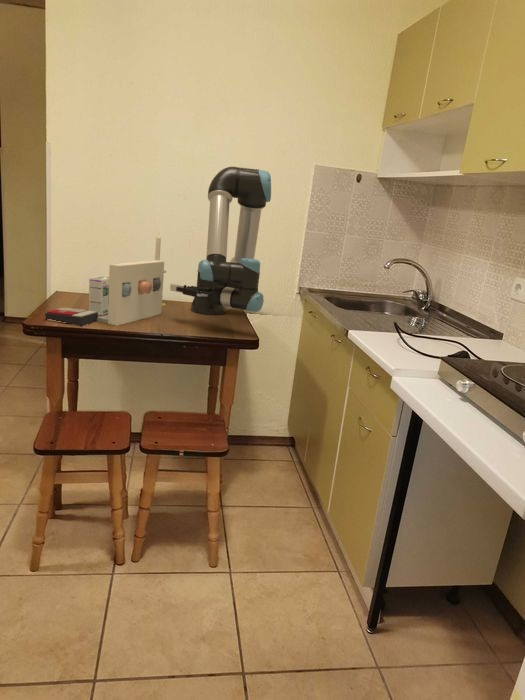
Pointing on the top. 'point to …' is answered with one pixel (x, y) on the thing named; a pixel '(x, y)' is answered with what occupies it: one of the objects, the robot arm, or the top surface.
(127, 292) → the slate blue button
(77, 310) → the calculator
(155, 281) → the charcoal button
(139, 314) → the control panel
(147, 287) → the terracotta button
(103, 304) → the syrup box
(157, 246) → the candle
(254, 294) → the robot arm
